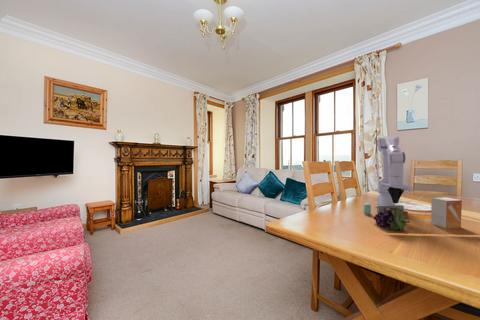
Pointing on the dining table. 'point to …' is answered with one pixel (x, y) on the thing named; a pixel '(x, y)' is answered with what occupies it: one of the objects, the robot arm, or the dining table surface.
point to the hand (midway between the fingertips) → (395, 203)
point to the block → (400, 210)
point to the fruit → (391, 219)
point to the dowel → (367, 209)
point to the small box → (446, 212)
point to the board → (382, 207)
